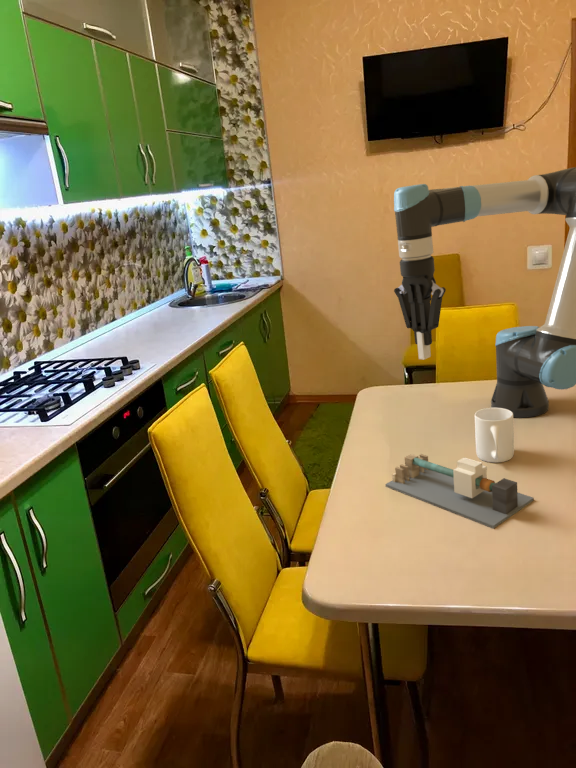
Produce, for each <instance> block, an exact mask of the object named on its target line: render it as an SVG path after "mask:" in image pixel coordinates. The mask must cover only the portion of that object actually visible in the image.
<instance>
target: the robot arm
mask: <svg viewBox="0 0 576 768" xmlns="http://www.w3.org/2000/svg"><path fill="white" fill-rule="evenodd" d="M393 193H394V194H393V205H394V207H393V211H394V217H395V224H396V225H395V226H396V234H397V245H398V246H397V247H398V257H399V258H401V260H400V261H399V270H400V275H401V276H402V280H401V284H400V285H399V286H398V287H395V288H394V290H393V292H394V295H396V297H397V299H398V302H399V305H400V308H401V312H402V313H401V314H402V316H403V320H404V323H405V327H406V328H407V329H411V330H412V331H413V332H414V333H413V334H414V336H413V337H414V343H415V345H417V353H418V354H417V355H418V360H424V361H425V360H426V359H428V358H431V356H432V354H431V353H432V352H431V344H433V339H432V338H433V337H432V336H433V335H432V330H435V329H437V328H439V327H440V325H439V324H440V317H441V310H442V304H443V303H442V302H443V297H444V295H445V293H446V288H445V287H444V286H443V287H440V286H439V285H438V284H436V283H437V282H436V279H435V277H434V274H435V271H436V269H435V258H434V256H432V254H434V245H433V244H434V243H433V233H432V231H433V230H432V229H433V227H437V226H444V225H449V224H455V223H460V222H463V223H466V221H470V220H474V219H476V218H477V217H485V216H494V215H503V214H513V213H515V214H516V213H522V212H524V213H525V212H528V213H529V214H531V215H540V214H542V215H543V214H546V215H547V214H548V215H549V214H550V215H561V216H562V215H563V216H565V219H564V220H565V222H566V224H567V225H568V227H569V231H568V233H567V238H566V241H565V245H564V249H563V253H562V256H561V260H560V264H559V267H558V272H557V275H556V276H557V277H556V280H555V283H554V287H553V290H552V291H553V292H552V295H551V299H550V303H549V307H548V310H547V314H546V317H545V322H544V324H543V325H541V326H537V325H525V326H515V327H510V328H505V329H502V330H500V331H498V332H497V334H496V336H495V346H494V347H495V356H496V357H495V359H496V360H495V361H496V364H495V365H496V384H495V388H494V391H493V393H492V397H491V400H490V406H491V407H490V408H504V409H507V410H510V411H511V412H512V413H513V418H517V419H518V418H521V419H522V418H532V417H537V416H540V415H544V414H545V413H547V412H548V411H549V398H548V395H547V393H546V392H547V391H546V389H545V387H546V388H552V389H555V390H561V391H562V390H568V389H570V388H573V387H575V386H576V166H575V167H569V168H565V169H561V170H558V171H553V172H548V173H542V174H536V175H532V176H530V177H529V178H528V179H525V180H517V181H507V182H498V183H497V182H496V183H486V184H485V183H484V184H475V185H474V184H473V185H460V186H453V187H445V188H435V189H429V186H428V184H426V183H420V184H414V185H413V184H412V185H406V186H401V187H398V188H396V189H395V190H394V192H393ZM544 386H545V387H544Z"/></svg>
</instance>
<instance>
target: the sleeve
mask: <svg viewBox="0 0 576 768" xmlns="http://www.w3.org/2000/svg"><path fill="white" fill-rule="evenodd" d="M456 464H457V465H456V468H454V469H453V474H454V492H456V493H458V494H461V495H464V496H467V497H470V498H474V497H475V496H477V495H478V494H480V493H481V492H483V491H485V490H482V489H480V486H477V485H476V484H475V479H476V478H480V479H483V478H487V479H488V474H487V471H488V469H487V466H486V465H484V464H483V462H481V461H478V460H474V459H472V458H467V457H462V458H460V459H458V460H457V461H456Z"/></svg>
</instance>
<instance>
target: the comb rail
mask: <svg viewBox="0 0 576 768" xmlns="http://www.w3.org/2000/svg"><path fill="white" fill-rule="evenodd" d="M424 469H425V470H432V471H435V472H438V473H441V474H444V475H447V476H450V477H453V478H454V474H453V470H454V469H452V468H449V467H446V466H444V465H440V464H436V463H434V462H430V461H429V456H428V455H426V454H422V453H420V454H419V455H416V454H413V453H411V454H408V455H406V456H404V464H400V465H399V467H398V466H396V467H395V468H394V470H395V472H393V473H392V474H391V476H392V479H391V480H393V482H396V481H397V482H400V483H402V484H403V483H405V480H406V481H409V477H410V478H414V477H416V476H418V475H420V474H419V472H422V473H423V472H424ZM475 484H476V485H477V486H480V489H482V490H485V491H488V492H492V499H493V510H495V511H498V512H501V513H503V514H508V513H509V512H511V511H512V510H513V509H515V508H516V507H518V498H517V492H518V482H517V481H514V480H511V479H507V478H502V479H500V480H499V481H497V482H495V480H492V479H489V478H488V477H487V478H483V479H480V478H476V479H475Z"/></svg>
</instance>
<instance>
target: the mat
mask: <svg viewBox="0 0 576 768" xmlns="http://www.w3.org/2000/svg"><path fill="white" fill-rule="evenodd" d="M419 474H420V475H418V476H416V477H414V478H410V477H409V481H406V480H405V483H403V484H402V483H400V482H397V481H396V482H393V479H391V480H390V481H389V482H387V483H385V487H386V488H389V489H391V490H394V491H397V492H399V493H401V494H405V496H409V497H412V498H415V499H416V500H420V501H421V502H425V503H428V504H430V505H432V506H434V507H437V508H439V509H443V510H445V511H447V512H450V513H452V514H455V515H458V516H461V517H462V518H466V519H468V520H470V521H473V522H475V523H478V524H480V525H484V526H485V527H488V528H491V529H493V530H494V529H495V528H496V527H497V526H499V525H500V524H502V523H504V522H505V521H506V520H508V519H509V518H510V517H512V516H513V515H515V514H516V513H518V512H519V511H520V510H522V509H523V508H525V507H526V506H527V505H529V504H531V503H532V502H533V501H534V500H535V497H534V496H530V495H527V494H524V493H521V492H518V491H517V498H518V507H516V508H515V509H513V510H512V511H511V512H509V513H508V514H503V513H501V512H498V511H495V510H493V499H492V492H488V491H483V492H481V493H480V494H478V495H477V496H475V497H474V498H470V497H467V496H464V495H461V494H458V493H456V492H454V478H453V477H450V476H447V475H444V474H441V473H438V472H435V471H432V470H425V469H424V472H423V473H422V472H419Z"/></svg>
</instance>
